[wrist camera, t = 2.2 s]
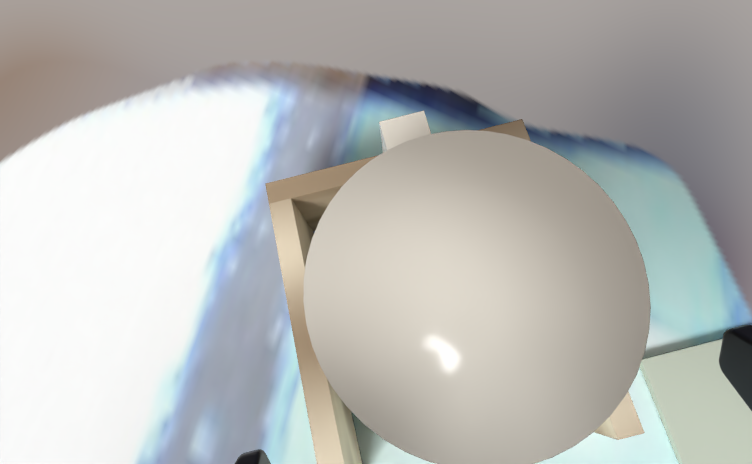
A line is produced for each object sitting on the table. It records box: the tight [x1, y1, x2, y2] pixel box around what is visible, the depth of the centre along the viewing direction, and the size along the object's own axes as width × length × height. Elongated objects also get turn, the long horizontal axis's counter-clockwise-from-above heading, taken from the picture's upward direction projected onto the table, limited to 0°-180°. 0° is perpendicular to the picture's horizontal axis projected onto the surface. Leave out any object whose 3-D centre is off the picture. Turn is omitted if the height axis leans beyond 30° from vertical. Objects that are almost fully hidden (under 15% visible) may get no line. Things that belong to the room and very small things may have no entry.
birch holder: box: [266, 119, 644, 464], centre depth 17 cm, size 11×10×4 cm
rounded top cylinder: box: [303, 111, 650, 464], centre depth 14 cm, size 8×6×11 cm
